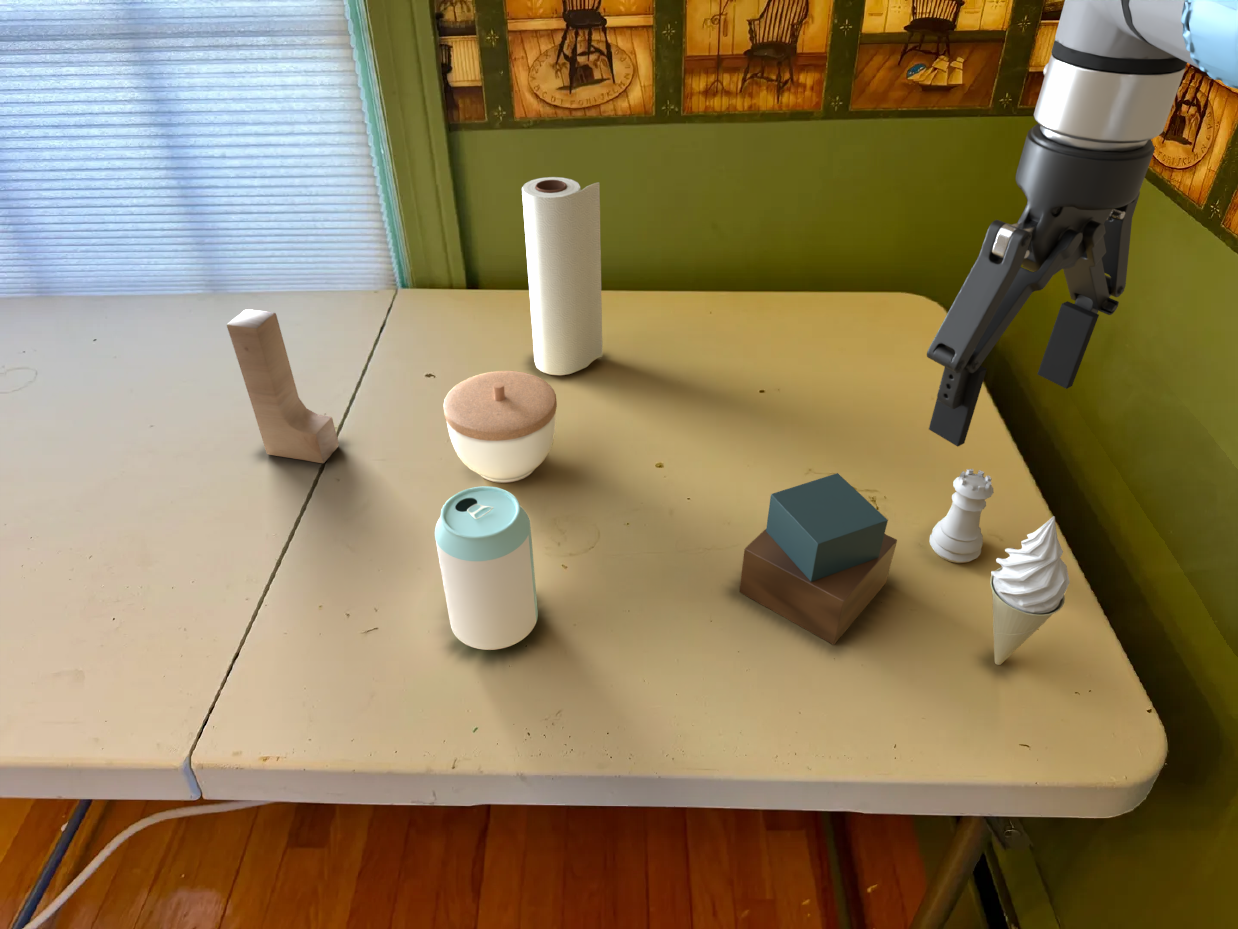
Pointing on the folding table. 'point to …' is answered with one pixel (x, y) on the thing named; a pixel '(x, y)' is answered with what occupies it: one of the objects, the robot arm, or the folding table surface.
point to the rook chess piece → (963, 519)
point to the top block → (825, 526)
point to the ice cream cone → (1027, 589)
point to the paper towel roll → (563, 273)
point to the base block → (812, 587)
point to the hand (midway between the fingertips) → (1002, 407)
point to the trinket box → (501, 423)
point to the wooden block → (278, 391)
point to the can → (487, 567)
